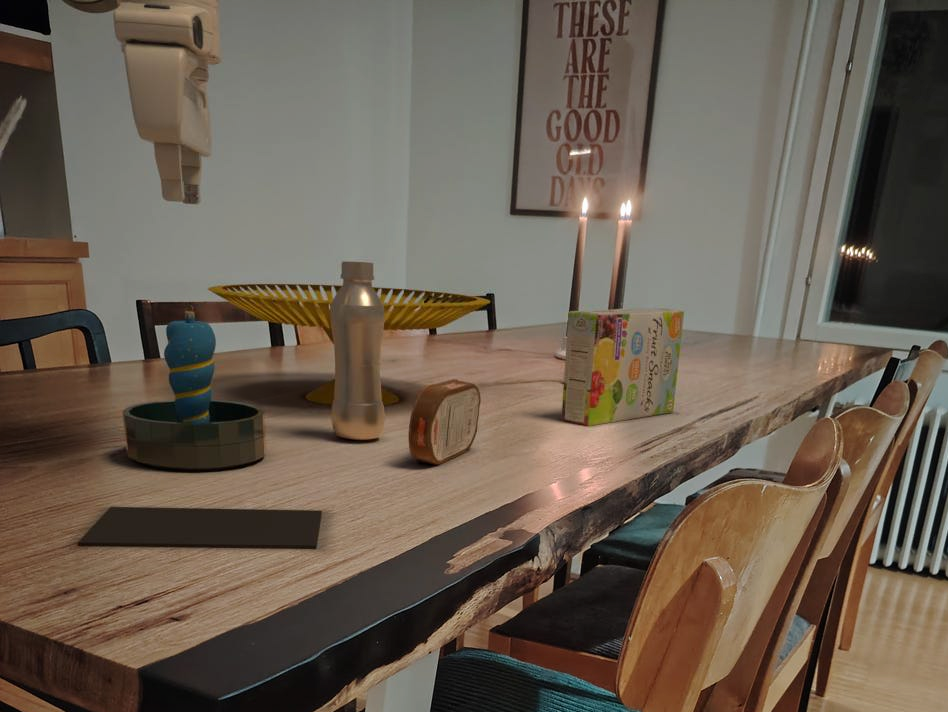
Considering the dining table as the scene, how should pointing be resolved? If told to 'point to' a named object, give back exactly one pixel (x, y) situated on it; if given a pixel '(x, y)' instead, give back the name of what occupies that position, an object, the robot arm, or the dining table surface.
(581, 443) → the dining table surface
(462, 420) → the tin
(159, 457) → the bowl
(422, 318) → the cake stand
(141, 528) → the mat
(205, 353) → the ornament
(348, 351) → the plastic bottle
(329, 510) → the dining table surface
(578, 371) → the snack box
